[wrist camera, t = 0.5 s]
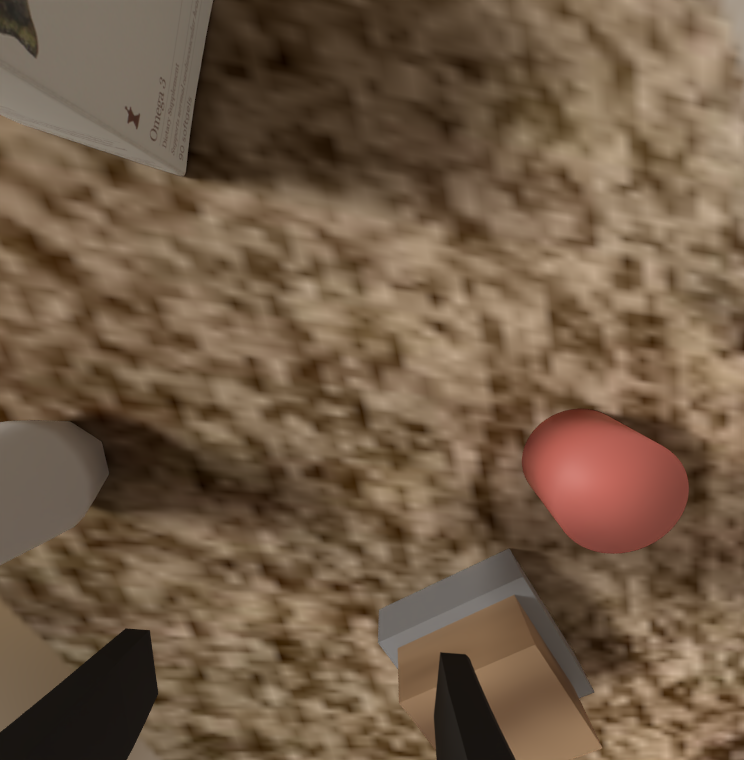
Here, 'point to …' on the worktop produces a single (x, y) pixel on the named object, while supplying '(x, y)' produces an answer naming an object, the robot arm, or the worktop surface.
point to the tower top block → (502, 683)
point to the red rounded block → (604, 481)
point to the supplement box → (106, 73)
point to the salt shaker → (45, 481)
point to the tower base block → (470, 596)
